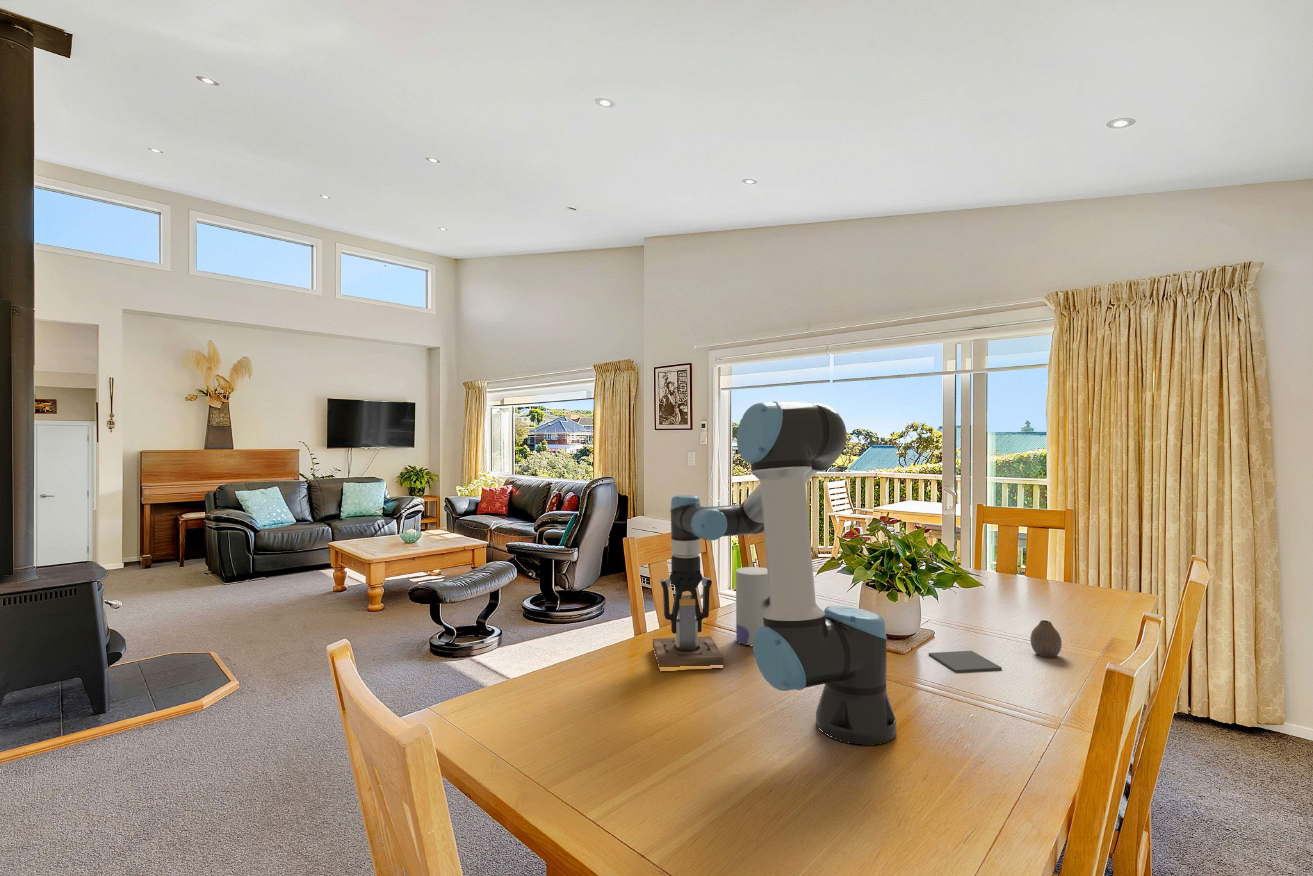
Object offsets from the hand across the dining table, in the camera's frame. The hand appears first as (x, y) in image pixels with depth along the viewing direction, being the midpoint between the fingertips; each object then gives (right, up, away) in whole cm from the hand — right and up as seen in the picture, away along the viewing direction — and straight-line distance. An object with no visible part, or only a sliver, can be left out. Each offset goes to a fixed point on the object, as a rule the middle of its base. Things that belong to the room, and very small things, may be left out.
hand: (686, 644), depth 162 cm
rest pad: (+70, -3, -4) cm, 70 cm away
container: (+20, -4, +13) cm, 24 cm away
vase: (+94, -3, 0) cm, 94 cm away
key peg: (0, -3, 0) cm, 3 cm away
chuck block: (0, -4, 0) cm, 4 cm away
